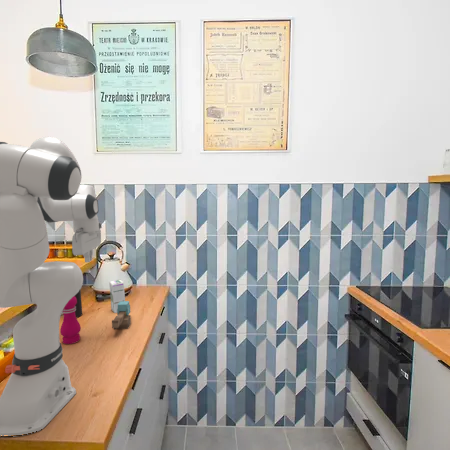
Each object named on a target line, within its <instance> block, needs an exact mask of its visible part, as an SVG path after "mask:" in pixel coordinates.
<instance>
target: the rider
mask: <svg viewBox="0 0 450 450" xmlns="http://www.w3.org/2000/svg"><path fill="white" fill-rule="evenodd" d="M120 311H126V316H127V315H130V314H131V304H130V301H129V300H125V301H120V302H119V304H118V309H117V315H118V314H119V313H120ZM117 315H116V316H117Z"/></svg>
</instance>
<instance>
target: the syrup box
mask: <svg viewBox="0 0 450 450" xmlns="http://www.w3.org/2000/svg"><path fill="white" fill-rule="evenodd" d="M108 283H109V295H110V296H109V297H110V308H111V311H112V312H113V313H114V314H116V313H117V309H118V304H119V302H120V301H126V295H125V294H126V293H125V282H124V281H122V280H121V279H116V280H112V281H109V282H108Z"/></svg>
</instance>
